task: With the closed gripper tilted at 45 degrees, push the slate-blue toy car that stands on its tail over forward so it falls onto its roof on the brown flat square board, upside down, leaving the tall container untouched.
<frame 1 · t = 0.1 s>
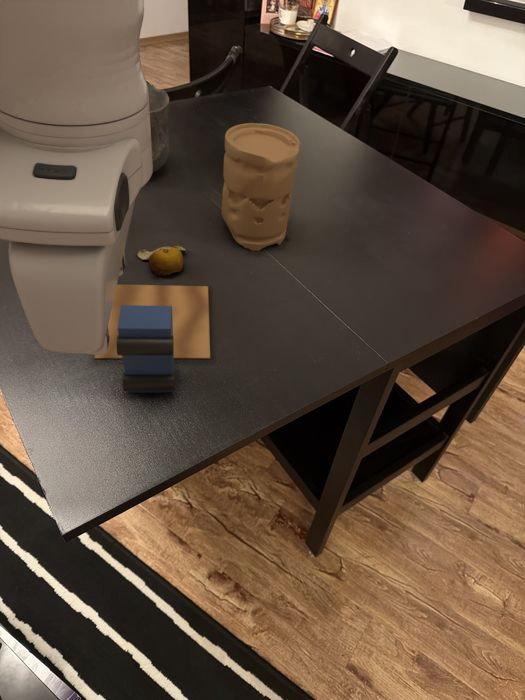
hand: (106, 306, 40), 24 cm above the table, tool pointing down, fingers open, 8 cm apart
cup: (130, 168, 104), on the table
brown flat square board: (156, 320, 73), on the table
fruit: (166, 261, 83), on the table
container: (252, 232, 93), on the table
toy car: (151, 381, 65), on the table
decorative dice: (69, 225, 88), on the table
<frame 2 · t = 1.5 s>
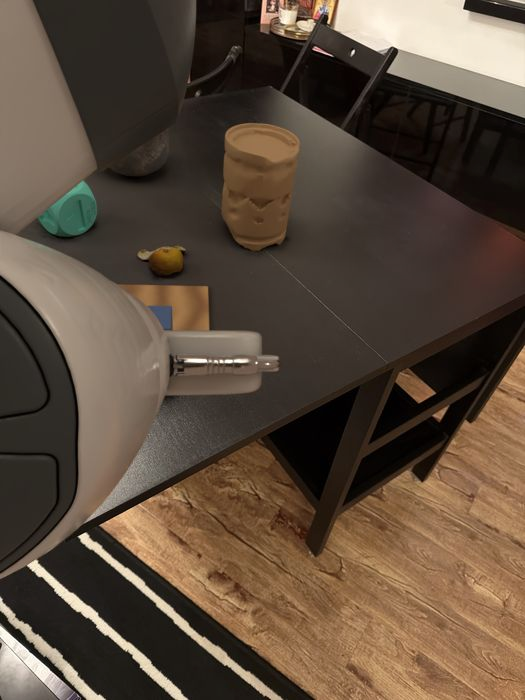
hand: (120, 354, 37), 23 cm above the table, tool tilted 45°, fingers closed
nothing on the table moved.
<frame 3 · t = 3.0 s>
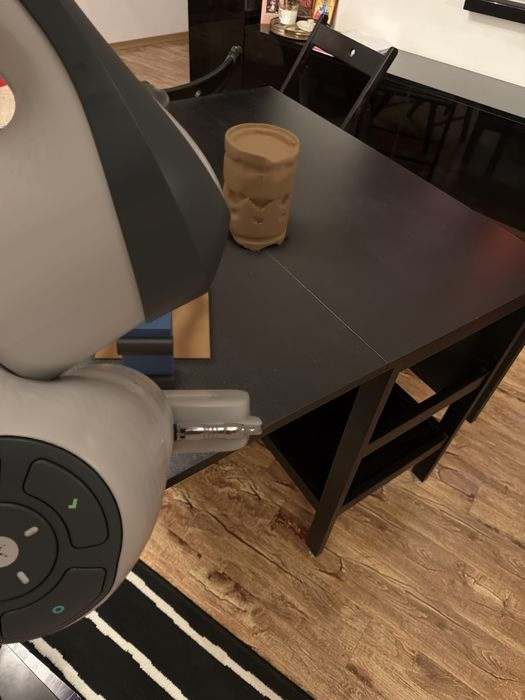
hand: (131, 403, 43), 16 cm above the table, tool tilted 45°, fingers closed
nothing on the table moved.
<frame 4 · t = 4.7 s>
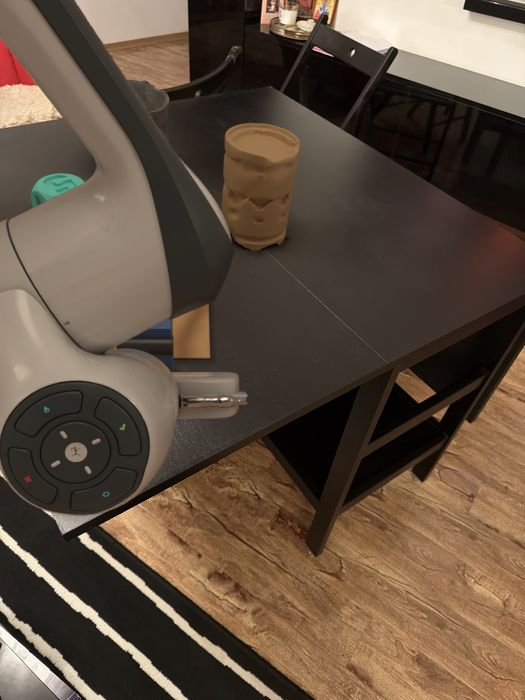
hand: (142, 384, 52), 10 cm above the table, tool tilted 45°, fingers closed
nothing on the table moved.
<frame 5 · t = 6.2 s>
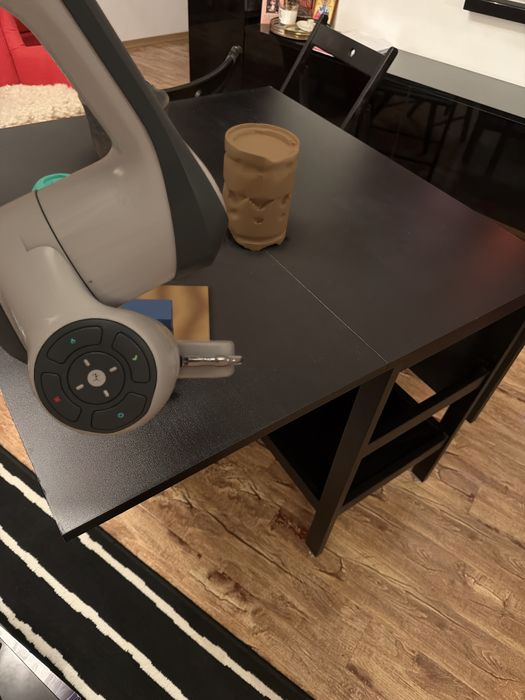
hand: (146, 354, 57), 8 cm above the table, tool tilted 45°, fingers closed
toy car: (151, 380, 65), on the table, tilted 6°, touching gripper
everything else where it was.
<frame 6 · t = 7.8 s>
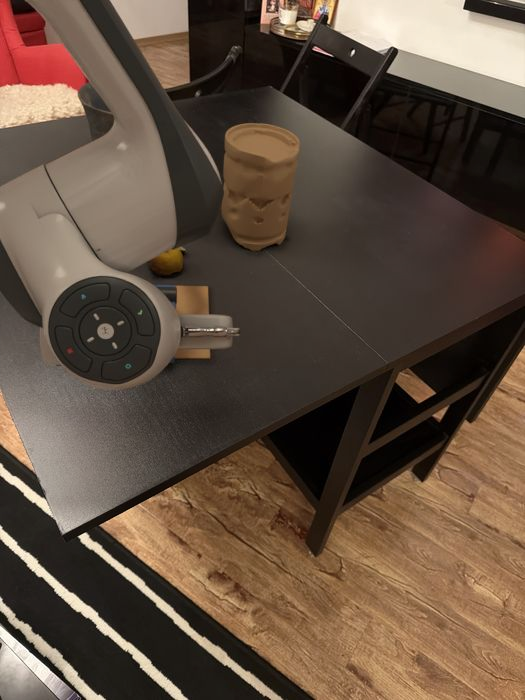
hand: (148, 331, 60), 8 cm above the table, tool tilted 45°, fingers closed
toy car: (151, 353, 64), point 3 cm above the table, tilted 90°, touching brown flat square board
everything else where it was.
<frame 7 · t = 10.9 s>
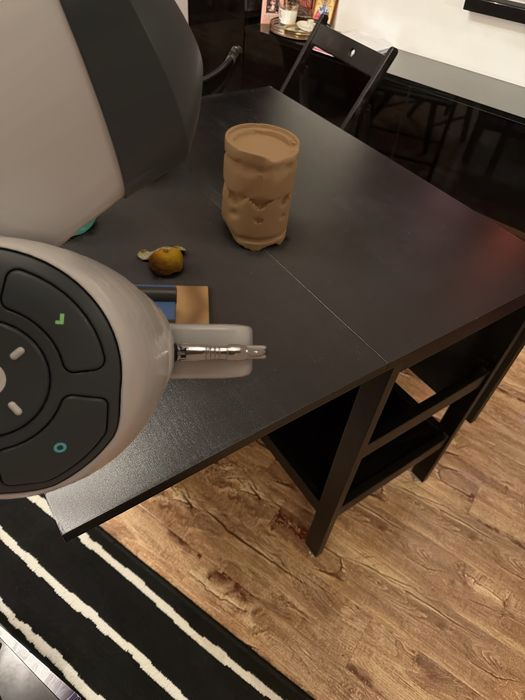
hand: (128, 345, 42), 20 cm above the table, tool tilted 45°, fingers closed
nothing on the table moved.
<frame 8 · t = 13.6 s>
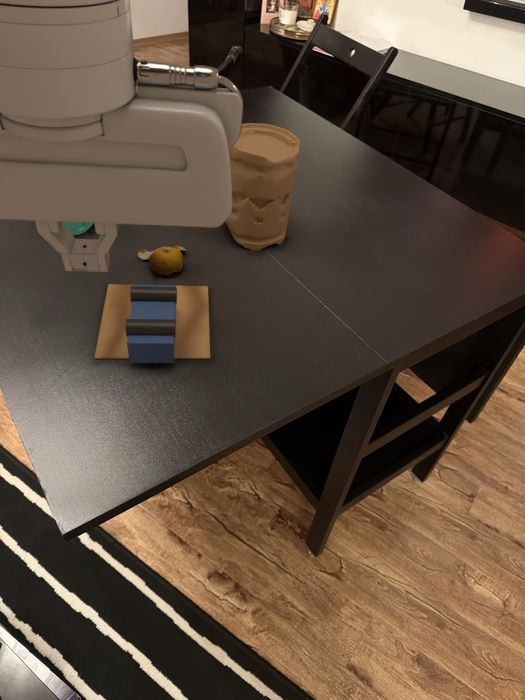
hand: (88, 266, 35), 29 cm above the table, tool pointing down, fingers closed
nothing on the table moved.
at the end: toy car tilted 90°; toy car 1.4 cm from the target spot, point 3.3 cm above the table; container moved 0.2 cm from its start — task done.
